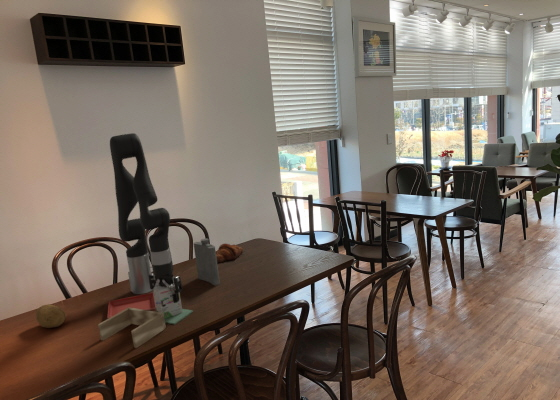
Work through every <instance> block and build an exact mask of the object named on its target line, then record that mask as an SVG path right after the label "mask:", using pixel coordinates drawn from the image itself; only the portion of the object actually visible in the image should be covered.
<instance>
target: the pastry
mask: <svg viewBox="0 0 560 400" xmlns="http://www.w3.org/2000/svg"><path fill="white" fill-rule="evenodd" d="M243 253H244V249H243V248H242V246H238V245H237V244H229V243H226V242H225V243H221V244H220V245H219V247H218V249H217V251H216V258H217V264H218V263H224V262H227V261H231V260H236V259H237V258H239V257H240V256H241V255H242V254H243Z"/></svg>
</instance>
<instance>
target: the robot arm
mask: <svg viewBox="0 0 560 400" xmlns="http://www.w3.org/2000/svg"><path fill="white" fill-rule="evenodd" d="M109 150H110V154H111V161H112V162H111V163H112V166H113V174H114V186H115V187H114V189H115V197H116V206H117V212H118V213H117V214H118V215H117V216H118V217H117V218H118V219H117V220H118V235H119V239H120V240H121V241H122V242H123V243H125V242H126V243H127V242H132V241H136V242H135V243H134V244H133V245H132V246H130V247H128V248H127V249H126V251H125V253H126V259H127V260H126V261H127V267H128V273H127V275H128V280H129V286H130V292H131V293H133V294H134V295H143V294H148V293H151V292H152V291H153V288H154V287H158V286H161V287H167V288H168V289H169V290H171V292H172V293H173V301H174V303H177V302H178V301H179V293H180V292H182V291H183V284H182V280H181V276H180V275H177V276H174V274H173V273H174V265H173V263H174V262H173V258H172V252H171V249H170V244H169V243H170V242H169V232H170V224H171V223H170V222H171V215H170V213H169V211H168V210H167V209H166V208H165V207H159V208H154V209H150V210H149V207H151V206H154V205H155V204H156V203H157V202H158V196H157V193H156V191H155V188H154V186H153V184H152V180H151V178H150V173H149V169H148V165H147V164H148V163H147V160H146V156H145V151H144V149H143V144H142V142H141V139H140V137H139V135H138V134H136V133H124V134H119V135H114V136H111V137H110V140H109ZM132 158H135V160H136V167H135V168H136V169H135V173H134V176H133V175H132V174H131V173H130V172H129V171H128V170H127V168H126V167H125V165H124V163H123V160H126V159H132ZM137 204H138V208H139V218H133V219H129V218H130V214H131V213H132V211H133V210H134V208H136V206H137ZM154 229H155V230H156V229H157V231H156V232H155V233H153V234H151V235H150V236H149V237H148V244H147V237H146V236H147V235H146V230H147V231H150V230H154ZM148 246H149V250H150V255H149V250H148ZM150 262H151V263H150ZM151 268H152V269H151ZM171 284H172V286H170V285H171ZM178 286H179V288H178ZM173 288H174V289H175V290H174V289H173Z"/></svg>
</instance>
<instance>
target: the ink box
mask: <svg viewBox="0 0 560 400" xmlns="http://www.w3.org/2000/svg"><path fill="white" fill-rule="evenodd" d="M170 286H172V284H171V285H170ZM178 288H179V286H178ZM173 289H174V288H173ZM174 290H175V289H174ZM152 291H153V293H154V299H155V305H156V309H155V310H156V312H161V313H164V319H166V318H169V317H172V316H174V315H177V314H179V313H182V309H183V306H182V300H181V293H180V292H179V301H178V302H177V303H174V301H173V293H172V292H171V290H169V289H168V288H167V287H161V286H158V287H154V288H153V290H152Z"/></svg>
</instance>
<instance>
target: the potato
mask: <svg viewBox="0 0 560 400" xmlns="http://www.w3.org/2000/svg"><path fill="white" fill-rule="evenodd" d="M35 317H36V320H37V323H38V324H39V326H41V327H43V328H46V329H51V328H57V327H60V326H61V325H62V324H63V323H64V322H65V320H66V318H67V317H66V313H65V311H64V309H63V308H61V307H60V306H57V305H54V304H49V303H48V304H44V305H41V306H39V308H38V309H37V310H36V314H35Z"/></svg>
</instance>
